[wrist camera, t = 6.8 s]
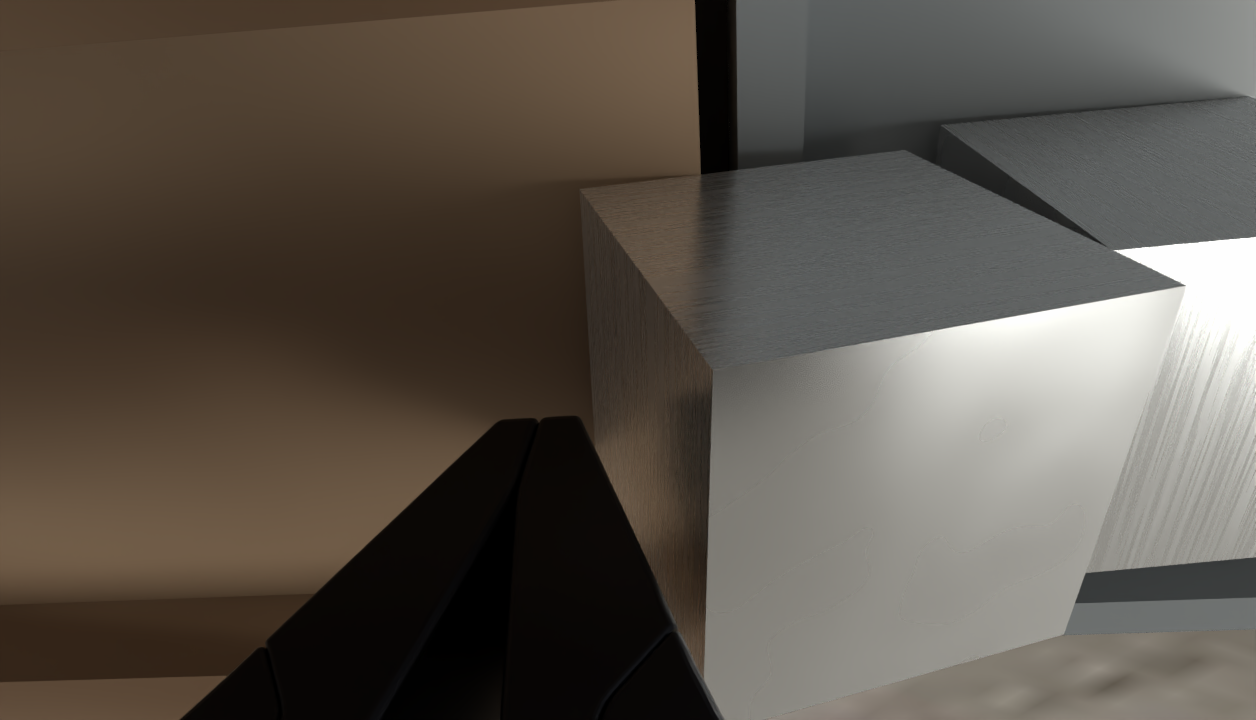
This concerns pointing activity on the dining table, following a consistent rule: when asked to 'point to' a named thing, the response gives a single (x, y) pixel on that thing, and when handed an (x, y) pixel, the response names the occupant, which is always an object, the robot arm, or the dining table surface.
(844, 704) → the dining table surface
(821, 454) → the brushed metal block
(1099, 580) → the tray
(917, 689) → the dining table surface
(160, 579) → the slot block
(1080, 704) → the dining table surface
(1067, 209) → the grey metal cube
